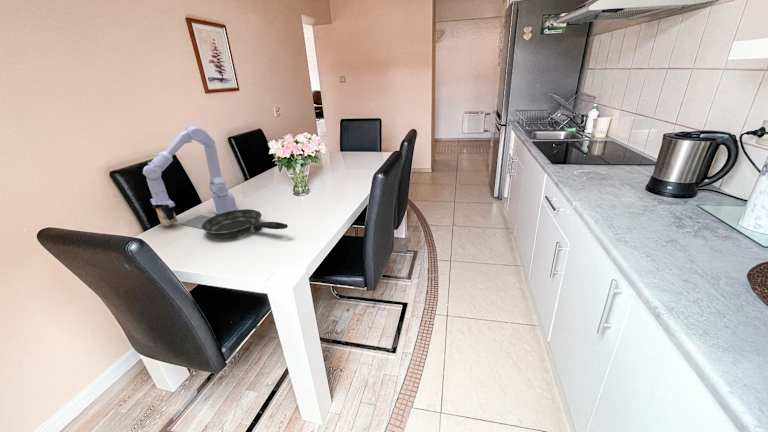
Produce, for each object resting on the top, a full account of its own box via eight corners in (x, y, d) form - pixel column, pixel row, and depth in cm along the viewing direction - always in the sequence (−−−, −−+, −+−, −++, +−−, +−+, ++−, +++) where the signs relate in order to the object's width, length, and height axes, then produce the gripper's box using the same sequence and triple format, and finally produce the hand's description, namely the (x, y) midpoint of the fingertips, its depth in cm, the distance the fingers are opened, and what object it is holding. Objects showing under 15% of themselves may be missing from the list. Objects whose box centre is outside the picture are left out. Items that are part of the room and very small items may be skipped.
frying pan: (191, 236, 138) (187, 223, 136) (236, 215, 159) (233, 203, 156) (266, 255, 121) (263, 239, 119) (306, 228, 142) (304, 214, 139)
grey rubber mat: (200, 215, 160) (200, 214, 160) (225, 220, 153) (225, 220, 153) (180, 224, 151) (180, 223, 151) (205, 230, 144) (204, 229, 144)
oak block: (171, 220, 151) (166, 204, 148) (177, 221, 150) (172, 206, 146) (161, 224, 147) (155, 208, 144) (167, 225, 146) (161, 209, 142)
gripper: (139, 192, 142) (150, 219, 147) (159, 196, 136) (169, 224, 141) (155, 187, 148) (165, 214, 153) (175, 191, 142) (184, 218, 147)
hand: (168, 218), depth 148 cm, fingers closed on oak block, 4 cm apart
